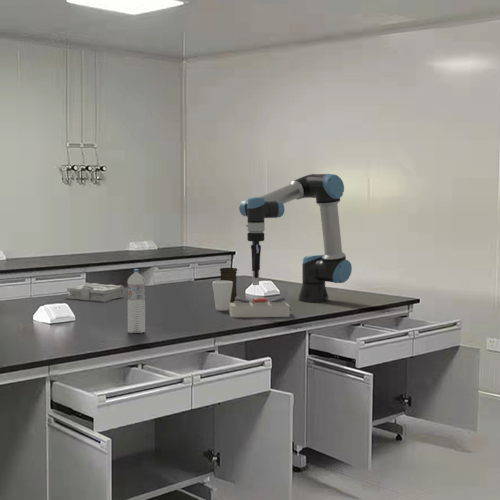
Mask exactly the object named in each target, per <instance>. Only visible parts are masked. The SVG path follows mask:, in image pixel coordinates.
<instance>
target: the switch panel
mask: <svg viewBox="0 0 500 500" xmlns="http://www.w3.org/2000/svg"><path fill="white" fill-rule="evenodd" d="M290 307H291V306H290V305H289V304H288V302H286V301H285V300H284V301H280V302H276V303H271V301H270V300H269V301H267V302H253V300H251V302H249V303H244V302H240V301H234V303H229V310H228V313H229V316H230V317H231V318H288V317H289V318H290V315H291V314H290V312H291V310H292V309H291V308H290Z"/></svg>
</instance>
